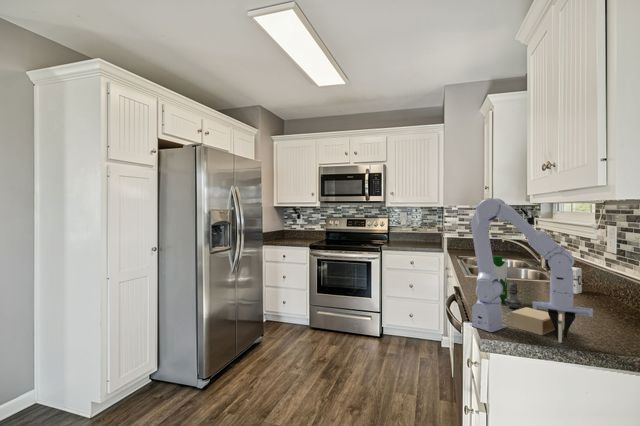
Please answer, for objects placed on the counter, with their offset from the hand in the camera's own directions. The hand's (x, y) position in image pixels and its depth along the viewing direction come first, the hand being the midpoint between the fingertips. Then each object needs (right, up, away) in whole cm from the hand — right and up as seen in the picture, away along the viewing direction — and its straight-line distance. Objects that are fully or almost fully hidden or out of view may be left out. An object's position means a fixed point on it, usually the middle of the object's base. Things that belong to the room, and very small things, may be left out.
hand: (561, 335), depth 99 cm
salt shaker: (+5, -2, +33) cm, 33 cm away
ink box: (+49, -1, +60) cm, 77 cm away
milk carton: (+4, -2, +45) cm, 45 cm away
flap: (+3, -1, +4) cm, 5 cm away
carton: (0, -2, +12) cm, 12 cm away
